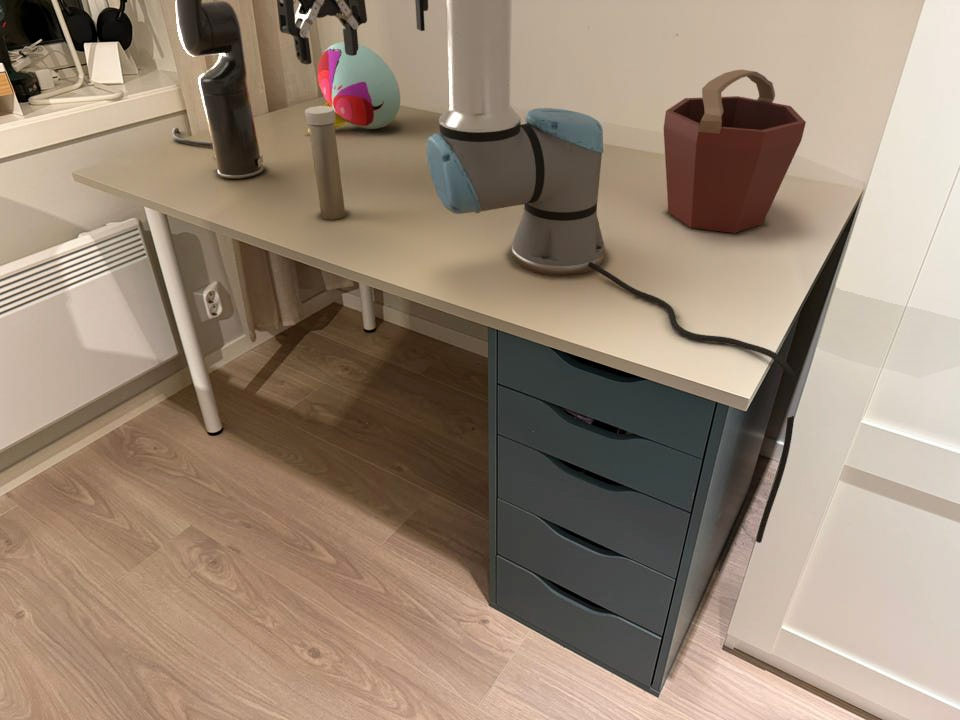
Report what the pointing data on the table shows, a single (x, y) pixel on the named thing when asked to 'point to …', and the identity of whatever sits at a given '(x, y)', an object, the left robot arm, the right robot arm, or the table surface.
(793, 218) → the table surface
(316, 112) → the lid
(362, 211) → the table surface
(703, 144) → the bucket
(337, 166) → the tan tube
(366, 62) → the toy
